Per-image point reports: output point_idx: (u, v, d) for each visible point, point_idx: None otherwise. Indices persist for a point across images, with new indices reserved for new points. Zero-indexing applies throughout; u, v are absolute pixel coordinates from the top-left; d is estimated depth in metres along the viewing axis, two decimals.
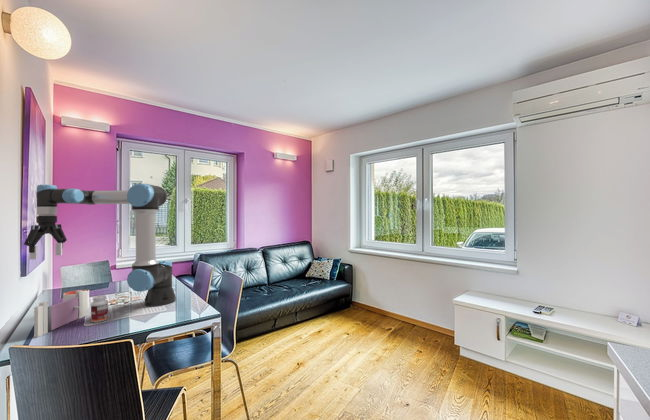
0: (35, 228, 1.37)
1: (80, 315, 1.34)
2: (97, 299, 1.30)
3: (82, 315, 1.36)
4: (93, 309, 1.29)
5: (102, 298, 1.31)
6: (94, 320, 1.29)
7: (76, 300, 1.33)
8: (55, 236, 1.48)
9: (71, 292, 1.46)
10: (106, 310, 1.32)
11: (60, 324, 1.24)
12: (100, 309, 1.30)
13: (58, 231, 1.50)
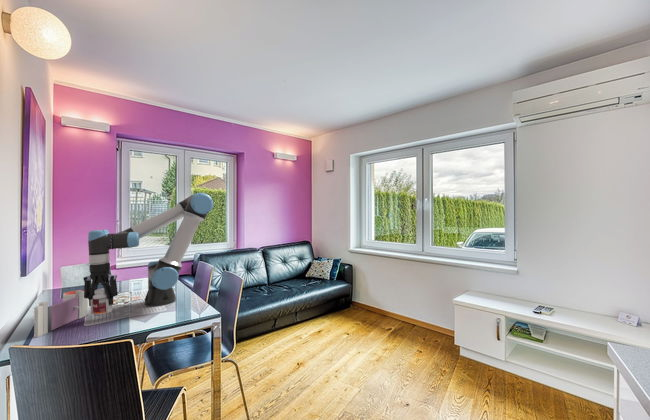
0: None
1: (80, 315, 1.34)
2: (98, 292, 1.30)
3: (82, 315, 1.36)
4: (95, 302, 1.29)
5: (103, 291, 1.31)
6: (96, 313, 1.29)
7: (76, 300, 1.33)
8: None
9: (71, 292, 1.46)
10: None
11: (60, 324, 1.24)
12: (102, 302, 1.30)
13: None
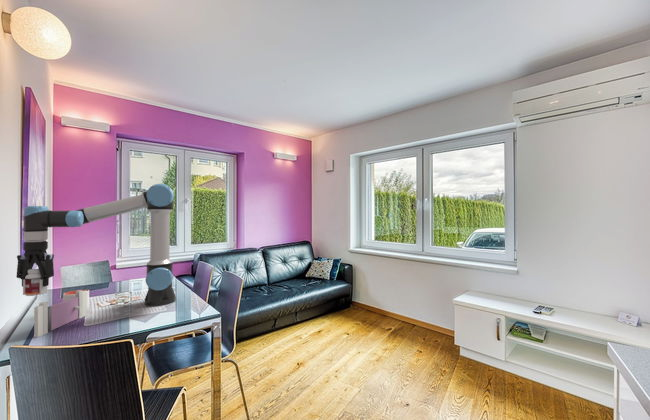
0: None
1: (80, 315, 1.34)
2: (32, 271, 1.22)
3: (82, 315, 1.36)
4: (27, 282, 1.21)
5: (38, 271, 1.23)
6: (28, 293, 1.21)
7: (76, 300, 1.33)
8: None
9: (71, 292, 1.46)
10: None
11: (60, 324, 1.24)
12: (35, 282, 1.22)
13: None
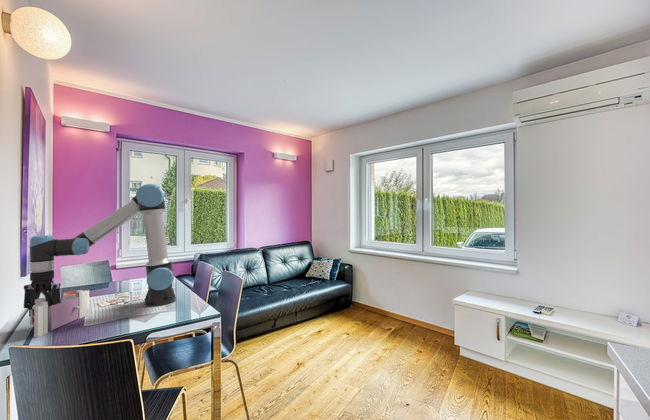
0: None
1: (80, 315, 1.34)
2: (39, 302, 1.22)
3: (82, 315, 1.36)
4: None
5: (44, 300, 1.23)
6: None
7: (76, 300, 1.33)
8: None
9: (71, 292, 1.46)
10: None
11: (60, 324, 1.24)
12: None
13: None
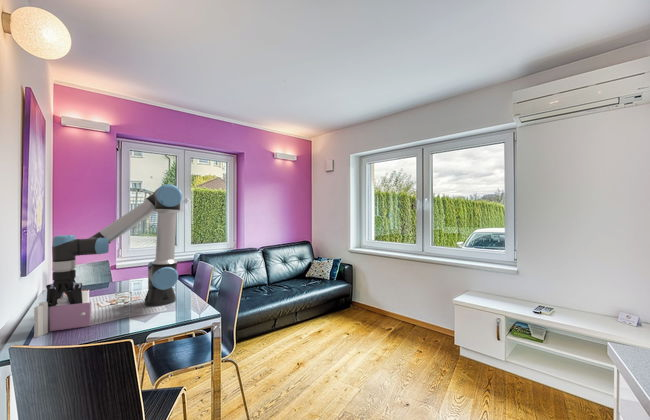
0: None
1: None
2: (61, 301, 1.22)
3: None
4: None
5: (67, 300, 1.24)
6: None
7: (86, 306, 1.24)
8: None
9: None
10: None
11: (62, 327, 1.21)
12: None
13: None
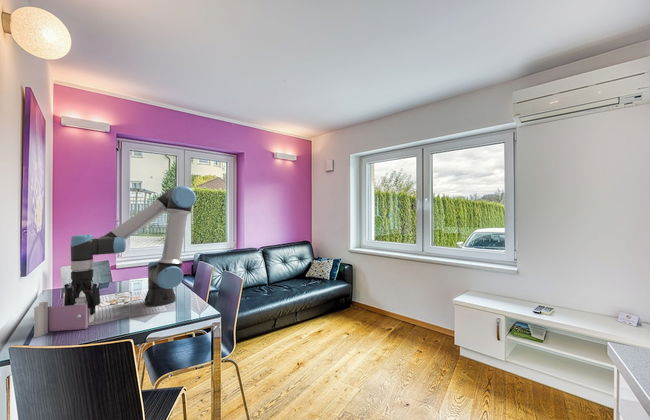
0: None
1: None
2: (79, 300, 1.23)
3: None
4: None
5: (85, 299, 1.24)
6: None
7: (83, 308, 1.21)
8: None
9: None
10: None
11: (60, 328, 1.20)
12: None
13: None
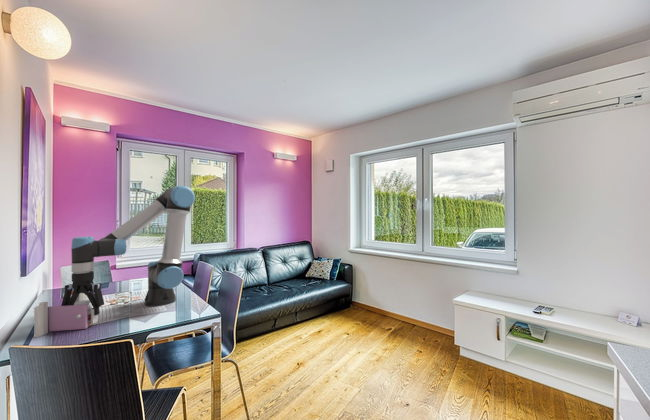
0: None
1: None
2: (80, 304, 1.23)
3: None
4: None
5: (86, 303, 1.24)
6: None
7: (83, 308, 1.21)
8: None
9: None
10: (90, 315, 1.25)
11: (60, 328, 1.20)
12: None
13: None
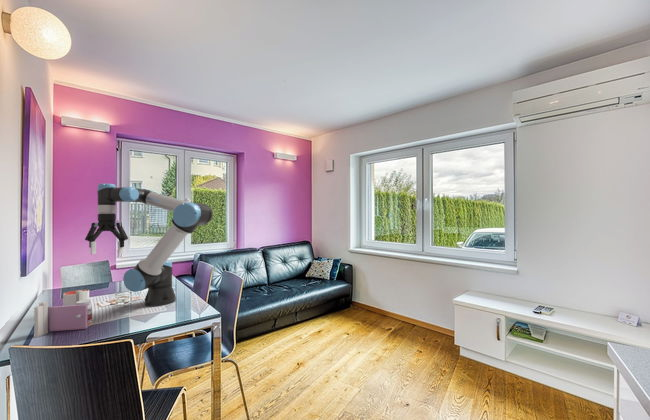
0: None
1: None
2: (80, 304, 1.23)
3: None
4: None
5: (86, 303, 1.24)
6: None
7: (83, 308, 1.21)
8: None
9: (71, 292, 1.46)
10: (90, 315, 1.25)
11: (60, 328, 1.20)
12: None
13: None
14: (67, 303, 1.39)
